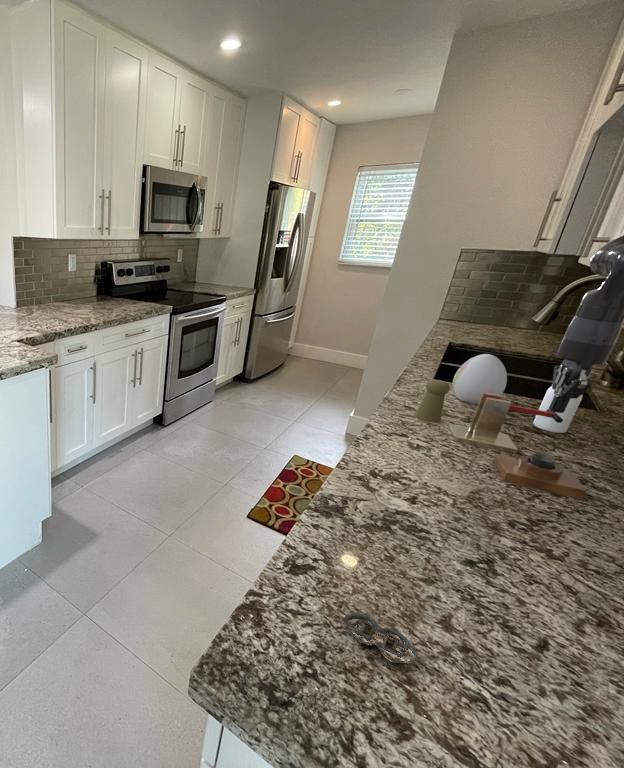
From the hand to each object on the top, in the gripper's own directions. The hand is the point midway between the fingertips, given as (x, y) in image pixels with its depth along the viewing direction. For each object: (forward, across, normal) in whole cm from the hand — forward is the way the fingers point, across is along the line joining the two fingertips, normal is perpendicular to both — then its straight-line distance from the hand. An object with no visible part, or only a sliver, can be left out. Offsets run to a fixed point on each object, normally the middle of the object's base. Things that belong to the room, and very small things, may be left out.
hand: (555, 411), depth 95 cm
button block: (+11, -17, +5) cm, 21 cm away
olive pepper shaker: (+11, +9, +21) cm, 25 cm away
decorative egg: (+11, +33, +7) cm, 35 cm away
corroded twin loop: (+11, -78, +35) cm, 86 cm away
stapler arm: (+2, 0, +6) cm, 6 cm away
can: (+11, +19, -7) cm, 23 cm away
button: (+7, -17, +5) cm, 19 cm away
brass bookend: (+11, 0, +11) cm, 15 cm away
